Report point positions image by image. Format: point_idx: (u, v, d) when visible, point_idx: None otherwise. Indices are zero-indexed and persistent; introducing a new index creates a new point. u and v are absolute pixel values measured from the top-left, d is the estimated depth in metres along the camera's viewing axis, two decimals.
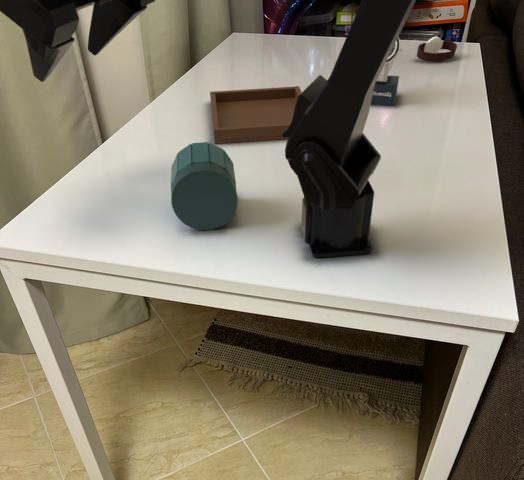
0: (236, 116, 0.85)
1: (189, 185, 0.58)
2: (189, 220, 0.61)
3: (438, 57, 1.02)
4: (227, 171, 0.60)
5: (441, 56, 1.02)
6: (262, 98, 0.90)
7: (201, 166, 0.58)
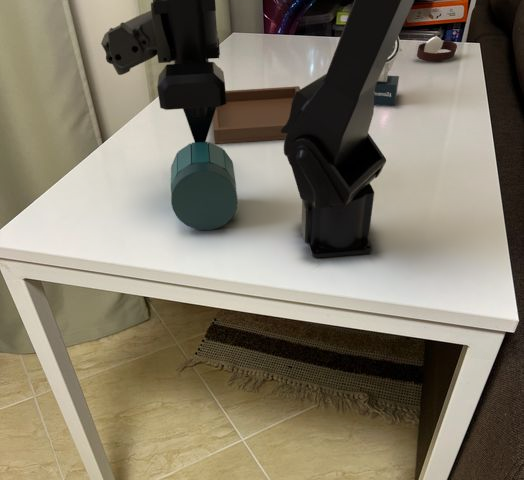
0: (236, 116, 0.85)
1: (189, 185, 0.58)
2: (189, 220, 0.61)
3: (438, 57, 1.02)
4: (227, 171, 0.59)
5: (441, 56, 1.02)
6: (262, 98, 0.90)
7: (201, 167, 0.58)
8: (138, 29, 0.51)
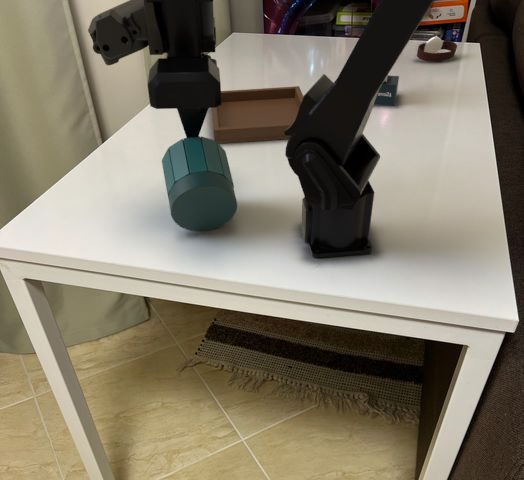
0: (236, 116, 0.85)
1: (190, 198, 0.57)
2: (188, 225, 0.61)
3: (438, 57, 1.02)
4: (225, 177, 0.58)
5: (441, 56, 1.02)
6: (262, 98, 0.90)
7: (201, 180, 0.56)
8: (128, 18, 0.48)
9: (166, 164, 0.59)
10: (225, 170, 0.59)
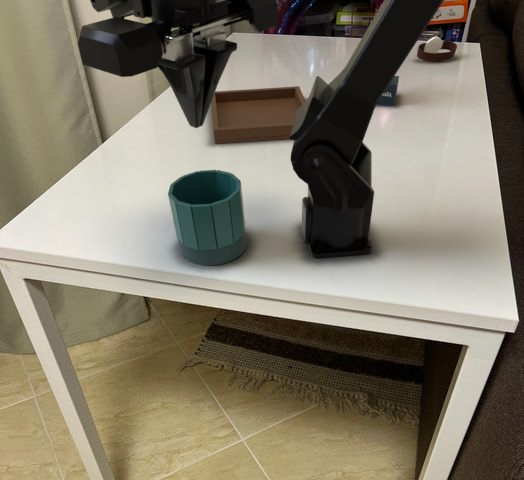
0: (236, 116, 0.85)
1: None
2: None
3: (438, 57, 1.02)
4: (244, 232, 0.58)
5: (441, 56, 1.02)
6: (262, 98, 0.90)
7: (227, 256, 0.57)
8: None
9: (185, 218, 0.54)
10: (243, 221, 0.57)
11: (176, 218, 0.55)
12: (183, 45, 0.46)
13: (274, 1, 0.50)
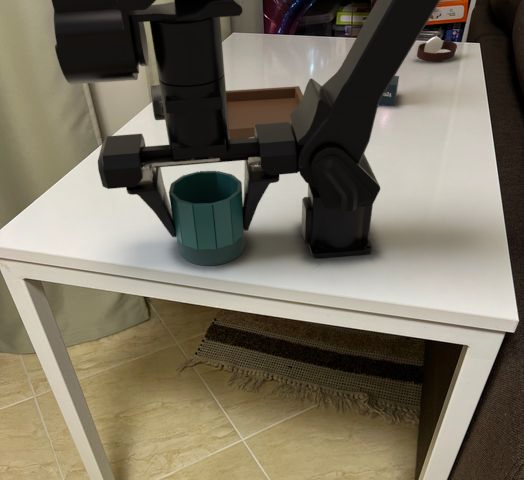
0: (236, 116, 0.85)
1: None
2: None
3: (438, 57, 1.02)
4: (243, 233, 0.58)
5: (441, 56, 1.02)
6: (262, 98, 0.90)
7: (226, 256, 0.57)
8: None
9: (185, 217, 0.54)
10: None
11: (176, 217, 0.55)
12: None
13: (294, 151, 0.50)
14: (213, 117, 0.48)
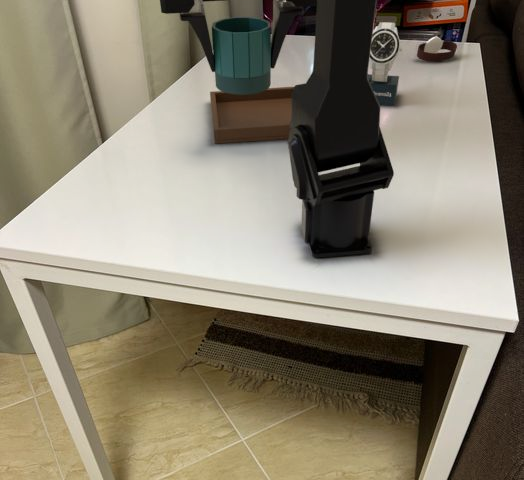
0: (236, 116, 0.85)
1: None
2: None
3: (438, 57, 1.02)
4: (270, 70, 0.70)
5: (441, 56, 1.02)
6: (262, 98, 0.90)
7: (256, 86, 0.69)
8: None
9: (225, 46, 0.66)
10: (270, 60, 0.69)
11: (217, 49, 0.67)
12: None
13: None
14: None
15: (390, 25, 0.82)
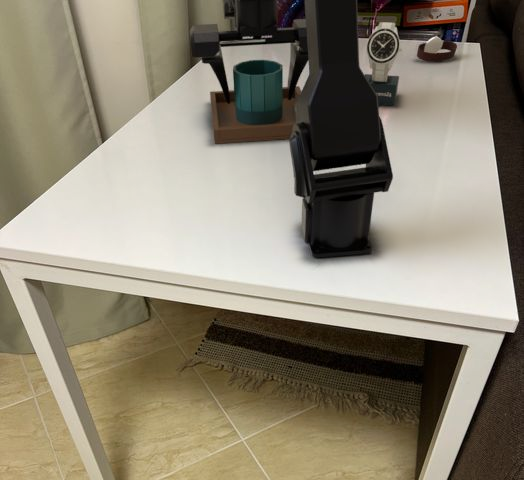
0: None
1: None
2: None
3: (438, 57, 1.02)
4: (282, 104, 0.83)
5: (441, 56, 1.02)
6: None
7: (271, 118, 0.82)
8: None
9: (244, 86, 0.79)
10: (282, 95, 0.82)
11: (237, 88, 0.80)
12: None
13: None
14: (269, 6, 0.72)
15: (390, 25, 0.82)
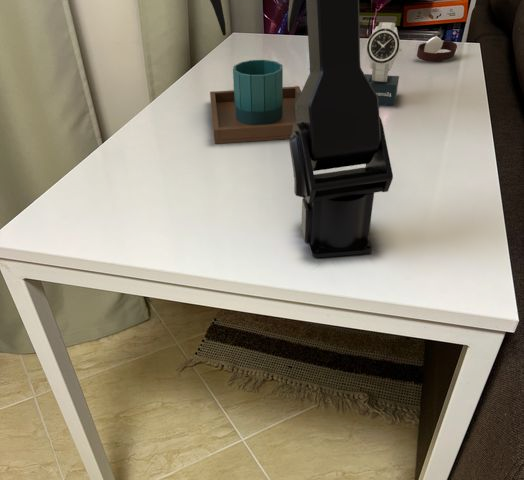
0: None
1: None
2: None
3: (438, 57, 1.02)
4: (282, 104, 0.83)
5: (441, 56, 1.02)
6: None
7: (271, 118, 0.82)
8: None
9: (244, 86, 0.79)
10: (282, 95, 0.82)
11: (237, 88, 0.80)
12: None
13: None
14: None
15: (390, 25, 0.82)
